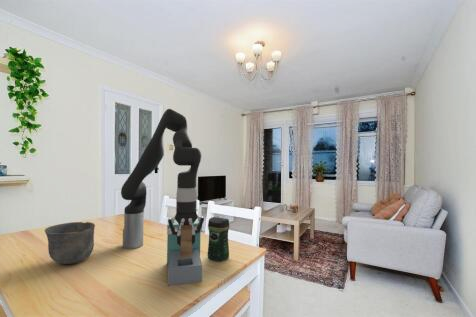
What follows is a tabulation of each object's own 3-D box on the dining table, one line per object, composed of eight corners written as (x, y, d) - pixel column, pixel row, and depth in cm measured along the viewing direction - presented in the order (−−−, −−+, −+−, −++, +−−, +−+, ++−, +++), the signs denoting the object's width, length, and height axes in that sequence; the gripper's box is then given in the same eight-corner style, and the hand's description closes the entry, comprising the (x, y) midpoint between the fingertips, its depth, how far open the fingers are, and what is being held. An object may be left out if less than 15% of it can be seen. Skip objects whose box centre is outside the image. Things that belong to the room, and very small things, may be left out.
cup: (36, 275, 87) (38, 235, 87) (49, 257, 102) (50, 224, 103) (92, 266, 95) (93, 229, 95) (96, 251, 111) (96, 220, 111)
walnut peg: (180, 254, 88) (180, 222, 88) (190, 253, 89) (191, 222, 89) (180, 258, 84) (181, 225, 84) (191, 257, 85) (192, 225, 86)
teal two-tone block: (166, 271, 92) (167, 225, 92) (167, 263, 99) (167, 220, 99) (201, 267, 95) (202, 223, 95) (199, 260, 102) (200, 218, 103)
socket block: (168, 285, 81) (168, 268, 81) (169, 265, 97) (169, 251, 97) (201, 281, 84) (202, 265, 84) (197, 262, 100) (198, 248, 100)
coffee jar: (231, 257, 106) (232, 217, 106) (222, 264, 99) (223, 221, 99) (214, 253, 110) (215, 214, 111) (204, 259, 104) (205, 218, 104)
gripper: (204, 197, 93) (203, 239, 92) (167, 198, 89) (166, 242, 89) (206, 200, 85) (205, 246, 85) (166, 201, 82) (166, 250, 81)
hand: (185, 244), depth 87 cm, fingers closed on walnut peg, 4 cm apart
